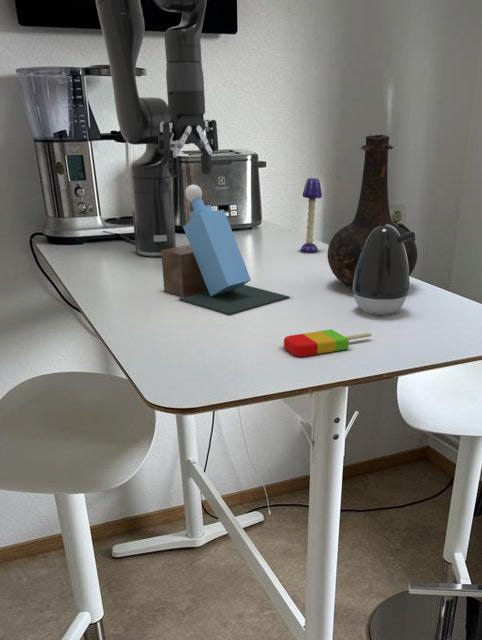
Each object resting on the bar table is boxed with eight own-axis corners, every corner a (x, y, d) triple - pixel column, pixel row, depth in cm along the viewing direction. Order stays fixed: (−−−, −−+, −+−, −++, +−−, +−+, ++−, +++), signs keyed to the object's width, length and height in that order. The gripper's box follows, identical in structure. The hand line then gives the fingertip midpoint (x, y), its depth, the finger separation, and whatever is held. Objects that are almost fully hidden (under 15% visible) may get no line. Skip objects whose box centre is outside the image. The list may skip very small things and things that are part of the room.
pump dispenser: (401, 322, 122) (410, 231, 115) (344, 315, 125) (349, 227, 118) (413, 306, 131) (421, 221, 123) (359, 301, 134) (364, 217, 126)
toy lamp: (320, 249, 174) (323, 177, 166) (319, 253, 170) (322, 180, 162) (301, 249, 175) (302, 177, 166) (299, 253, 171) (301, 179, 162)
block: (164, 291, 139) (160, 250, 135) (208, 280, 147) (207, 241, 143) (183, 296, 136) (180, 254, 132) (228, 285, 143) (227, 245, 139)
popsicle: (280, 347, 110) (280, 336, 109) (361, 334, 116) (362, 323, 115) (296, 358, 106) (297, 346, 105) (379, 344, 112) (380, 333, 111)
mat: (179, 300, 134) (179, 298, 134) (239, 285, 144) (239, 283, 144) (229, 315, 125) (229, 313, 125) (289, 297, 136) (289, 296, 135)
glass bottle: (425, 296, 137) (443, 138, 123) (337, 299, 134) (345, 138, 121) (398, 274, 152) (410, 132, 138) (318, 277, 150) (323, 132, 136)
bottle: (251, 295, 135) (249, 188, 126) (228, 301, 132) (224, 191, 122) (205, 283, 143) (199, 182, 134) (182, 289, 140) (175, 185, 130)
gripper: (200, 88, 148) (204, 171, 156) (145, 88, 139) (153, 176, 147) (224, 88, 143) (227, 174, 151) (169, 88, 135) (175, 179, 142)
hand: (190, 175), depth 149 cm, fingers open, 8 cm apart
